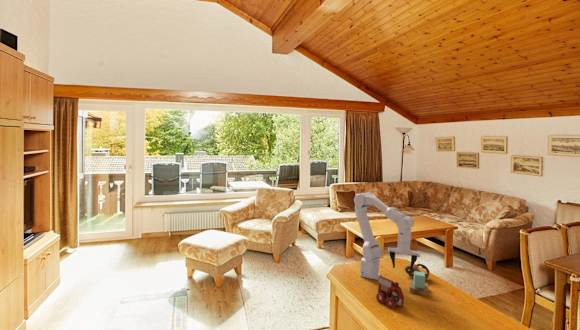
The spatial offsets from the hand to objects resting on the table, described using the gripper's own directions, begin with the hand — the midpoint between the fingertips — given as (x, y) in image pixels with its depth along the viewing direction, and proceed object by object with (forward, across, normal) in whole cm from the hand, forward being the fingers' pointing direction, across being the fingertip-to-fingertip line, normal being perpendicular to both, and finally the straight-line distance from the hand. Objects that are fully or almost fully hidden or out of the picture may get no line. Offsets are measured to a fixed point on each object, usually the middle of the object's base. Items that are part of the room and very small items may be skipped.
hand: (402, 268), depth 148 cm
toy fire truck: (+10, -4, -16) cm, 20 cm away
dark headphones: (+10, +7, +17) cm, 21 cm away
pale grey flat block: (+10, +8, +2) cm, 13 cm away
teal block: (+7, +8, +1) cm, 11 cm away
